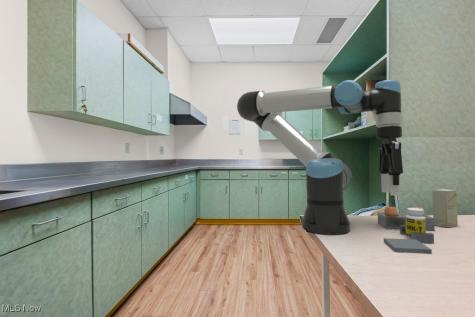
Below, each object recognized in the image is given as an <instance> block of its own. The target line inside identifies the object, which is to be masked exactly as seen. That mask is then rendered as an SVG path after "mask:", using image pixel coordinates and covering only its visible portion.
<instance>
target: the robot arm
mask: <svg viewBox="0 0 475 317" xmlns="http://www.w3.org/2000/svg"><path fill="white" fill-rule="evenodd" d="M237 100H238V101H237V104H236V109H237V113H238V115H239V116H240V117H241V118H242V119H244V120H245V121H249V122H253V123H254V124H256V126H257V127H258V128H259V129H261V130H262V132H269V133H270V134H271V135H272V136H273V137H274V138H275V139H276V140H277V141H278V142H279V143H281V145H282V146H284V147H285V148H286V149H287V150H288V151H289V152H290V153H291V154H292V155H293V156H294V157H295V158H297V160H299V161H300V162H301V164H303V165H304V166H305V175H306V176H305V177H306V207H305V211H304V214H303V218H302V221H301V228H302V230H305V231H306V232H310V233H314V234H320V235H344V234H347V233H349V232H350V231H351V223H350V220H349V218H348V215H347V212H346V209H345V206H344V205H345V204H344V191H345V190H346V189H347V188H348V187H349V186H350V184H351V183H352V178H353V175H352V174H353V173H352V170H351V169H350V167H349V166H348V165H347V164H346V163H344V162H343V161H342V160H341V159H339V158H336V157H335V156H334V155H333V154H331V153H330V152H323V151H322V150H321V149H320V148H319V147H318V146H316V144H315V143H313V141H311V140H310V139H308V137H307V136H305V134H303V133H302V132H301V131H300V130H298V128H296V127H295V126H294V125H293V124H292V123H291V122H289V121H288V119H286V118H285V117H284V116H283V112H299V111H310V110H311V111H312V110H323V109H324V110H325V109H338V112H339V113H340V114H341V115H352V114H359V113H366V112H368V113H369V112H375V127H377V128H376V129H375V134H376V135H375V136H376V139H378V140H382V141H381V144H379V145H378V172H379V173H380V178H381V181H380V182H381V184H380V185H381V188H380V190H381V193H389V195H390V196H401V175H402V174H403V173H404V168H403V158H402V142H401V141H400V142H399V141H397V139H399V138H402V136H403V131H402V130H403V129H402V126H401V125H402V120H403V116H402V89H401V82H400V81H399V80H397V79H385V80H381V81H378V82H376V83H375V85H374V88H372V89H368V90H363V87H362V85H360V84H359V83H358V82H357V81H355V80H352V79H346V80H343V81H341V82H340V83H339V84H333V85H325V86H316V87H305V88H299V89H298V88H297V89H290V90H289V89H287V90H278V91H270V92H265V90H257V91H256V90H255V91H249V92H246V93H243V94H242V95H241V96H240V97H239V98H238V99H237Z"/></svg>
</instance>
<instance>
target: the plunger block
mask: <svg viewBox="0 0 475 317" xmlns="http://www.w3.org/2000/svg"><path fill="white" fill-rule="evenodd" d="M396 214H397V216H386V211H385V212H383V211H382V212H381V211H378V212H377V224H378V225H379V226H380V227H382V228H383V229H384V230H392V229H394V231H396V230H397V231H398V230H399V231H400V225H406V215H407V212H396ZM423 216H424V217H425V218H426V232H435V231H436V230H435V228H436V226H435V225H434V218H433V217H432V216H430V215H427V214H426V213H424V215H423Z"/></svg>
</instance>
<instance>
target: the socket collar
mask: <svg viewBox="0 0 475 317" xmlns="http://www.w3.org/2000/svg"><path fill="white" fill-rule="evenodd" d="M399 234H400V235H404V236H406V225H400V230H399ZM411 234H412V239H415V240H418V241H419V242H421V243H422V244H431V245H432V244H433V245H434V244H435V234H434V233H432V232H426V233H420V232H411Z"/></svg>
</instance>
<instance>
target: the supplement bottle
mask: <svg viewBox="0 0 475 317" xmlns="http://www.w3.org/2000/svg"><path fill="white" fill-rule="evenodd" d="M406 213H407V215H406V235H405V237H406V239H412V234H411V232H420V233H427V231H426V218H425V217H424V216H423V215H424V214H425V211H424V208H423V209H419V208H412V207H407V208H406Z"/></svg>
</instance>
